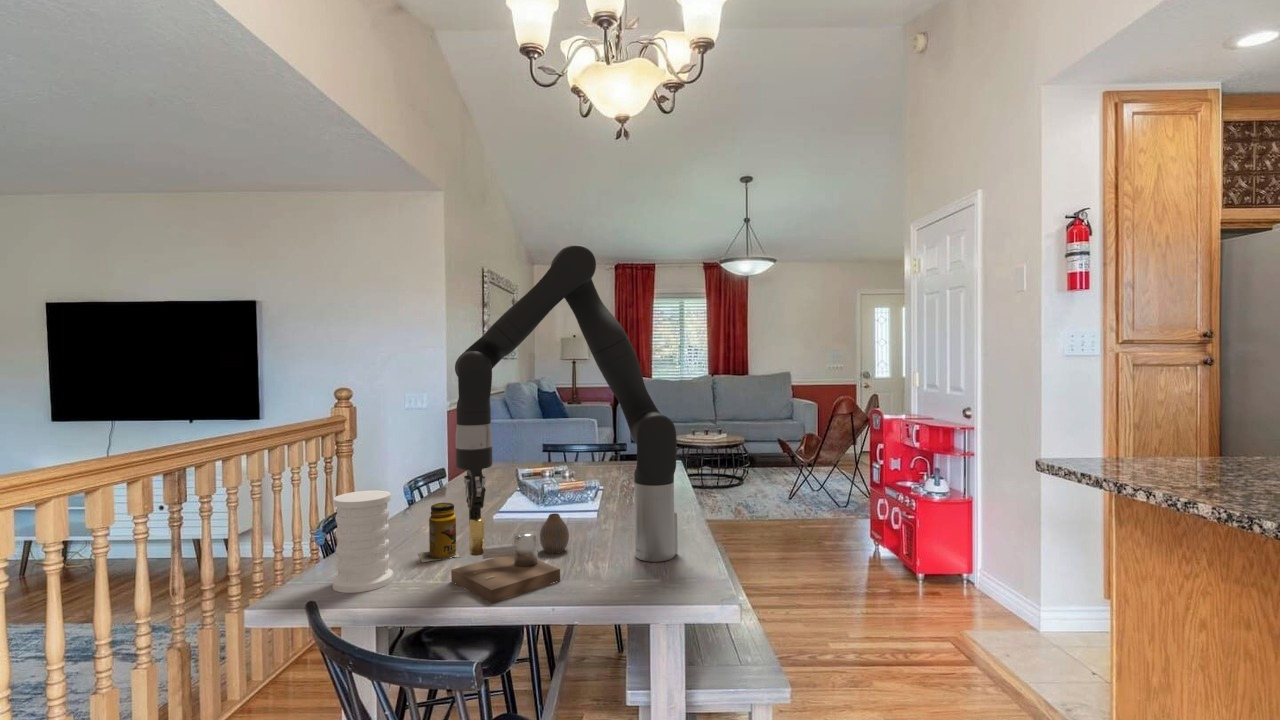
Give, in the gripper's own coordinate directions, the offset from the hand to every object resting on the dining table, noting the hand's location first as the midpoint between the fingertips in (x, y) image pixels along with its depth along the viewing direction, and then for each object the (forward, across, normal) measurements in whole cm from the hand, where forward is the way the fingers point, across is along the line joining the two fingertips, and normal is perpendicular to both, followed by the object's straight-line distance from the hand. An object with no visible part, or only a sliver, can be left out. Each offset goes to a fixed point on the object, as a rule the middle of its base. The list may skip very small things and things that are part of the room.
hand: (475, 526), depth 129 cm
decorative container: (+11, +6, +22) cm, 25 cm away
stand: (+10, -6, -5) cm, 13 cm away
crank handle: (+8, -4, -5) cm, 10 cm away
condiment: (+11, +18, +6) cm, 22 cm away
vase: (+11, +9, -20) cm, 24 cm away
